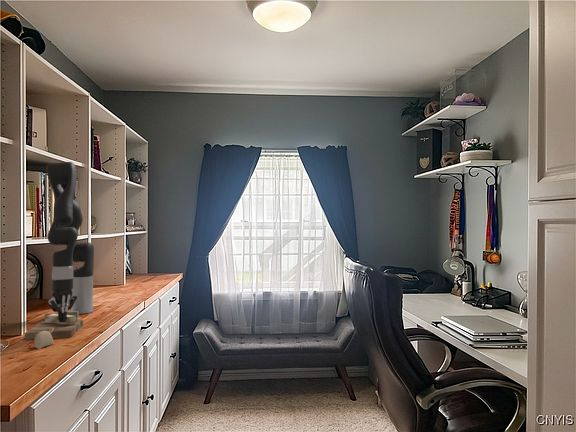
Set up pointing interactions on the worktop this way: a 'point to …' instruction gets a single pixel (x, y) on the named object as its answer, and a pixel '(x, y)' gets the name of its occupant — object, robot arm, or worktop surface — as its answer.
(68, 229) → the robot arm
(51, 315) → the ash leg
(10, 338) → the worktop surface
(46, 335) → the decorative ornament
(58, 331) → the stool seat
